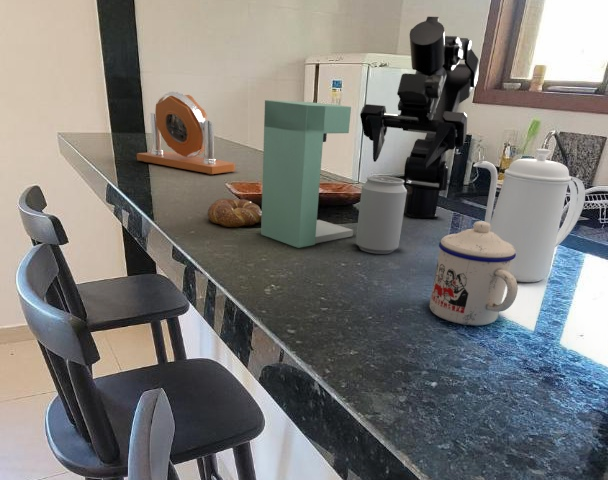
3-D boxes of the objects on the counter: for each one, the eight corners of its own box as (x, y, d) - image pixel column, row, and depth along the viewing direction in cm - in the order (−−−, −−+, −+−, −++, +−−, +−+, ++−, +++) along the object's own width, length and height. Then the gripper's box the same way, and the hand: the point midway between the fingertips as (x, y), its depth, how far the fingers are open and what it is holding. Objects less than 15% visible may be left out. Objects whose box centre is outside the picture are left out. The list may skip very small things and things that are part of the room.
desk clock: (210, 176, 148) (209, 95, 138) (135, 161, 161) (130, 87, 152) (238, 172, 157) (239, 96, 148) (165, 158, 171) (161, 88, 161)
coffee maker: (317, 225, 105) (326, 102, 95) (354, 236, 99) (369, 107, 89) (260, 234, 96) (264, 100, 86) (298, 248, 90) (307, 105, 80)
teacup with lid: (413, 303, 70) (428, 215, 65) (467, 297, 74) (486, 212, 69) (472, 341, 61) (497, 241, 55) (531, 332, 64) (559, 237, 59)
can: (396, 257, 89) (407, 183, 83) (352, 252, 90) (360, 178, 85) (398, 246, 96) (409, 176, 90) (357, 241, 97) (365, 172, 91)
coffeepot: (427, 269, 84) (450, 142, 76) (536, 257, 95) (567, 145, 86) (475, 292, 76) (508, 153, 67) (589, 276, 87) (629, 154, 78)
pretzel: (252, 231, 98) (253, 211, 96) (196, 224, 99) (196, 204, 98) (269, 218, 108) (270, 199, 106) (218, 212, 110) (218, 193, 108)
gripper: (370, 53, 93) (341, 124, 89) (478, 59, 87) (452, 135, 83) (377, 102, 103) (352, 168, 99) (475, 111, 97) (452, 181, 93)
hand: (399, 163), depth 93 cm, fingers open, 9 cm apart
